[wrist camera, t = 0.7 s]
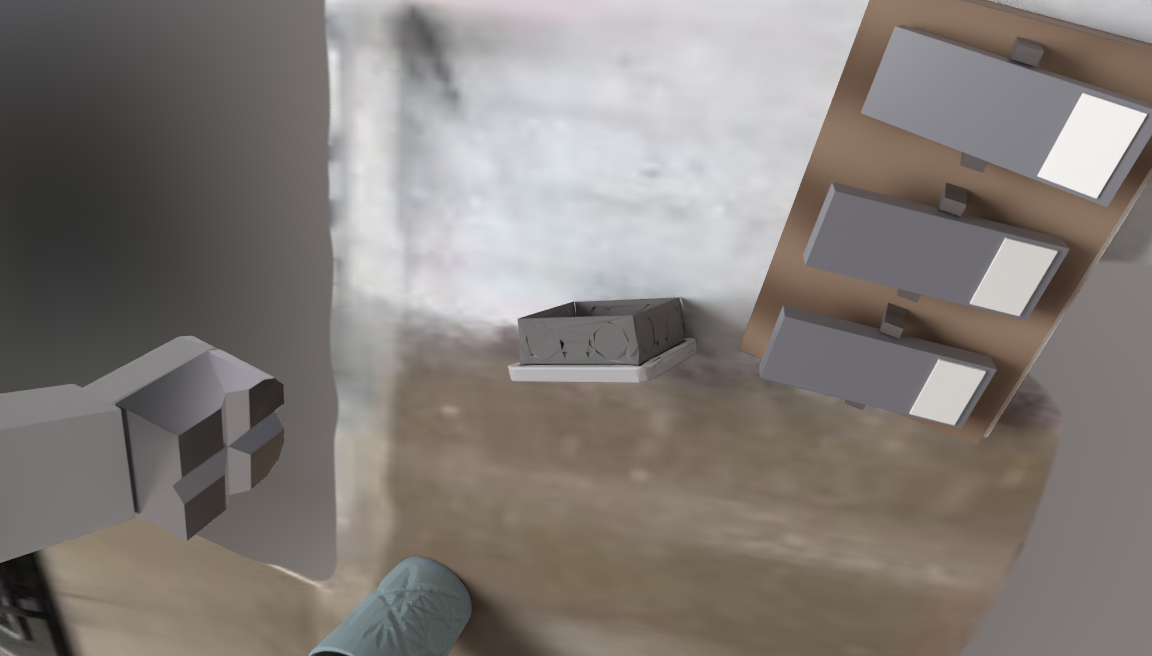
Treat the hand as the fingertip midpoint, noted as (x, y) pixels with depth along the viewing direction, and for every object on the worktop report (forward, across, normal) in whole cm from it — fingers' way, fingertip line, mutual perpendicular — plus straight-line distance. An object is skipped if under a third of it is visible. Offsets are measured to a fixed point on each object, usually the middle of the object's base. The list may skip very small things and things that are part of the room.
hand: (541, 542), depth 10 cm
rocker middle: (+33, -6, +6) cm, 34 cm away
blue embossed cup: (+39, +20, +56) cm, 71 cm away
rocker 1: (+33, -6, +13) cm, 36 cm away
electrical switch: (+38, +9, +19) cm, 44 cm away
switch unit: (+38, -6, +6) cm, 39 cm away
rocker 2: (+32, -6, -1) cm, 33 cm away
